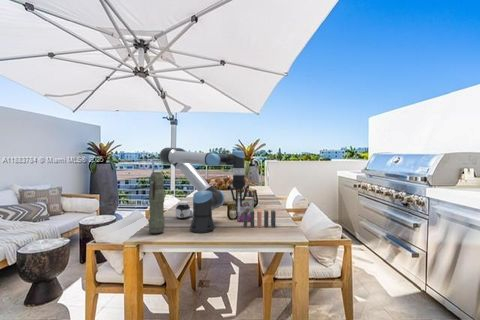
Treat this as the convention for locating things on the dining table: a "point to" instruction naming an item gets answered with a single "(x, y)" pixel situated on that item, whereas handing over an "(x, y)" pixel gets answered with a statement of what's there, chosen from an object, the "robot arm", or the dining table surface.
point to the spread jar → (183, 210)
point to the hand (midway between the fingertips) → (238, 211)
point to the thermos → (156, 203)
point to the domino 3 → (259, 218)
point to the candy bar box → (245, 208)
